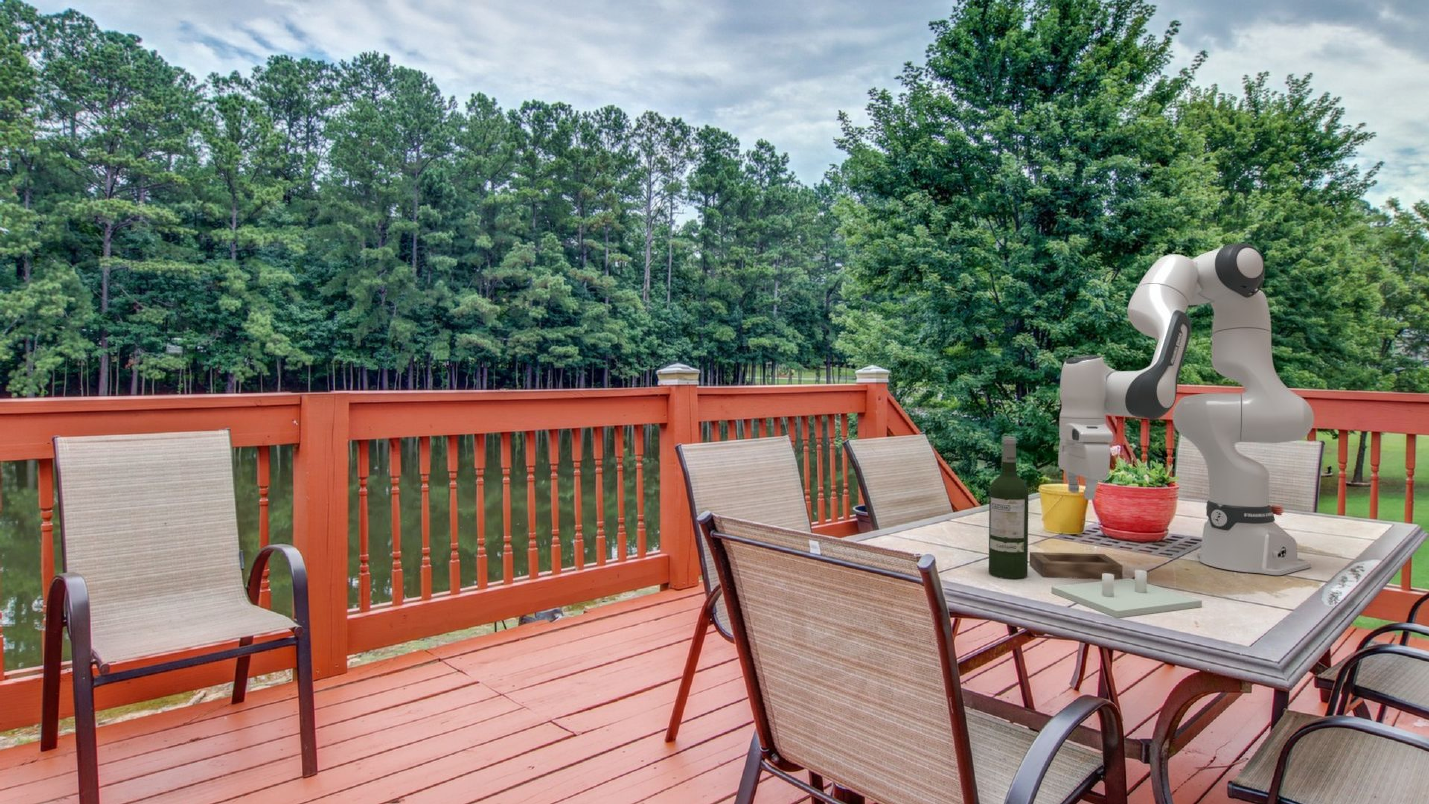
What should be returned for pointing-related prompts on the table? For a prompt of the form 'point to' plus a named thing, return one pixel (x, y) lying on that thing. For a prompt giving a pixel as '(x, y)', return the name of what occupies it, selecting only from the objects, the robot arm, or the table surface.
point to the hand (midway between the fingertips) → (1081, 495)
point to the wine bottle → (1008, 519)
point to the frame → (1074, 565)
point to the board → (1126, 596)
